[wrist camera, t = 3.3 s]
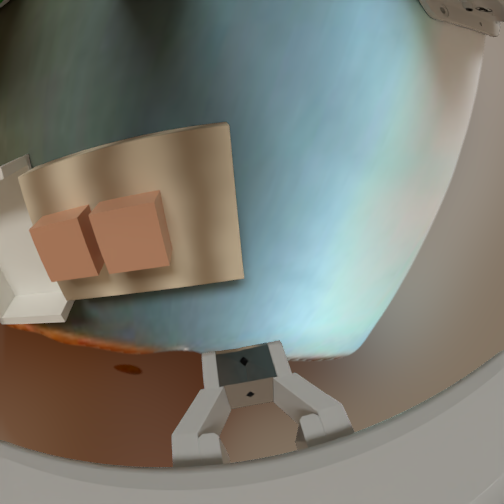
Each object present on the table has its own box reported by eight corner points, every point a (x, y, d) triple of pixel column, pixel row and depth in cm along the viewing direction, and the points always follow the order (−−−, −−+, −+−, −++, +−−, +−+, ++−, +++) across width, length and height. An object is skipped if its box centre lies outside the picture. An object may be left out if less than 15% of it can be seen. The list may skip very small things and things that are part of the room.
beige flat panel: (226, 121, 20) (229, 125, 18) (239, 259, 27) (244, 278, 25) (34, 167, 18) (17, 177, 16) (75, 282, 25) (66, 300, 23)
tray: (28, 153, 18) (1, 167, 14) (77, 293, 26) (65, 321, 22) (-33, 184, 16) (-57, 200, 13) (15, 300, 25) (1, 324, 21)
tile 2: (159, 189, 19) (154, 202, 17) (172, 248, 22) (169, 265, 20) (99, 201, 19) (88, 215, 17) (116, 256, 21) (109, 274, 19)
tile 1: (88, 204, 19) (76, 217, 16) (106, 258, 21) (98, 275, 19) (42, 216, 18) (28, 229, 16) (61, 265, 21) (51, 282, 19)
